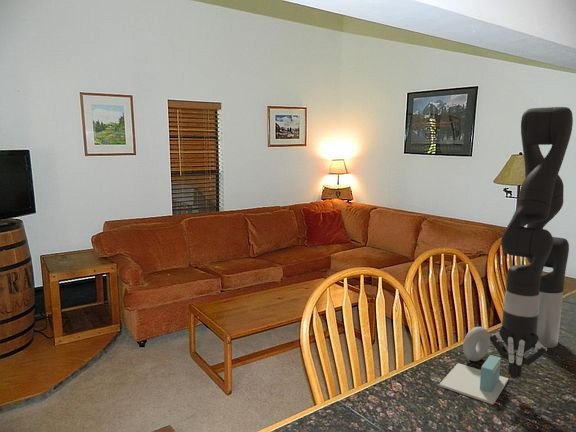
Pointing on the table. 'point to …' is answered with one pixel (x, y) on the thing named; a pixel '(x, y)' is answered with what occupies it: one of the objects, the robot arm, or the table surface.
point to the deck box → (490, 373)
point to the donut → (476, 343)
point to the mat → (471, 383)
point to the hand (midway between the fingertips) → (514, 376)
